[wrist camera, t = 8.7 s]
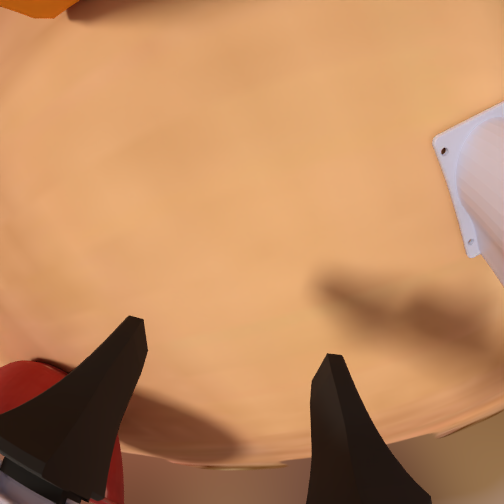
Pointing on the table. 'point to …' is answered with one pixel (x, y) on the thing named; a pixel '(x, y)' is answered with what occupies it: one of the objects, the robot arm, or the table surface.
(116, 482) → the mixing bowl
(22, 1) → the bracket
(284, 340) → the table surface
